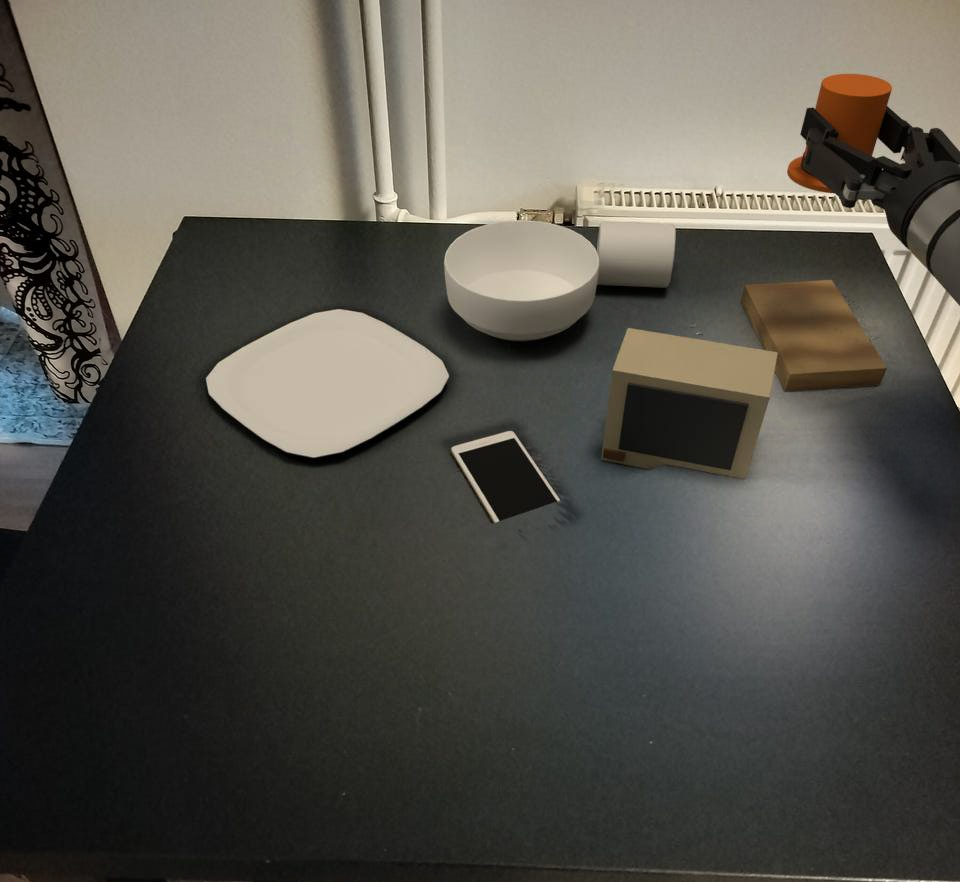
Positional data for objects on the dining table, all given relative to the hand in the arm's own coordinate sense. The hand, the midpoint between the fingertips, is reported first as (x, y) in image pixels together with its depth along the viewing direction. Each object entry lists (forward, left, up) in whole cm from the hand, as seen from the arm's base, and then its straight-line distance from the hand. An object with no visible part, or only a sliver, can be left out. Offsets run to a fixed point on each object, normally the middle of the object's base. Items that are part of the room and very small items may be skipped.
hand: (840, 117), depth 98 cm
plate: (+13, +59, -25) cm, 65 cm away
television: (-16, +27, -25) cm, 40 cm away
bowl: (+16, +31, -25) cm, 43 cm away
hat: (-2, 0, -5) cm, 6 cm away
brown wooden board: (-5, 0, -25) cm, 26 cm away
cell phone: (-13, +47, -25) cm, 55 cm away
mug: (+19, +12, -25) cm, 34 cm away
